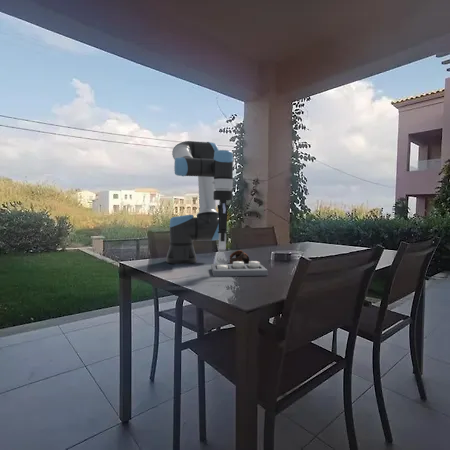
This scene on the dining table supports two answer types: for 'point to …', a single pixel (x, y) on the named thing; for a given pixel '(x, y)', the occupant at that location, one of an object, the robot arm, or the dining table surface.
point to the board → (238, 271)
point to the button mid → (238, 265)
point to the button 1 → (222, 267)
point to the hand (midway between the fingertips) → (222, 248)
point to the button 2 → (254, 264)
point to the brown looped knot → (239, 257)
